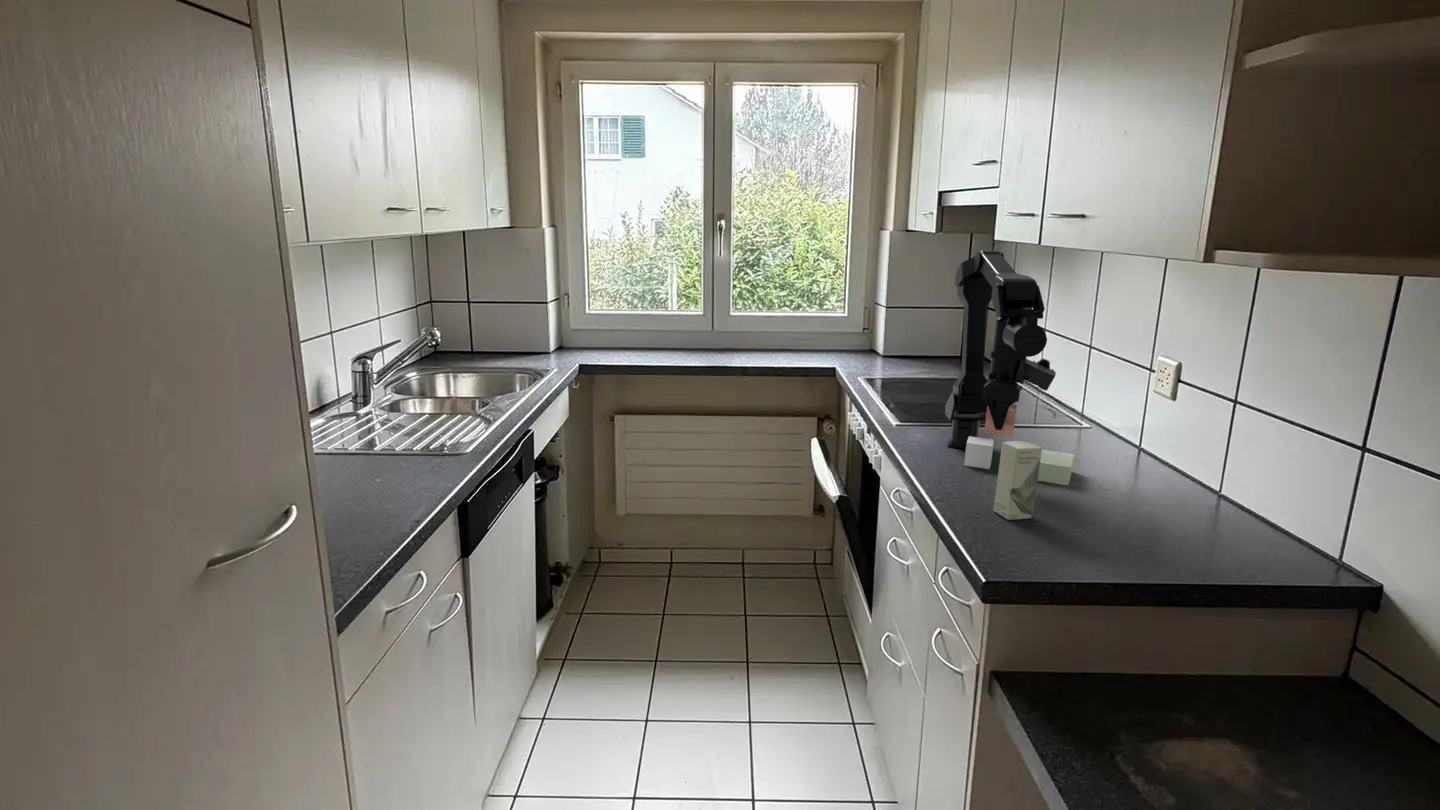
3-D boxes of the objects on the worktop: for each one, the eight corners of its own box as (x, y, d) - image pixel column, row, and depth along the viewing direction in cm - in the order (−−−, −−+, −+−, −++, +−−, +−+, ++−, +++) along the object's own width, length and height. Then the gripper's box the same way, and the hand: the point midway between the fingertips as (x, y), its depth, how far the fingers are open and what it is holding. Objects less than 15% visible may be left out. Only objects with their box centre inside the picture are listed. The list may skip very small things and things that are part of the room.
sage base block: (1024, 465, 160) (1026, 447, 159) (1071, 473, 156) (1074, 454, 155) (1018, 478, 153) (1020, 459, 152) (1067, 487, 149) (1070, 467, 148)
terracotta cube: (986, 426, 152) (989, 401, 150) (1013, 429, 150) (1016, 404, 148) (984, 433, 147) (987, 407, 146) (1012, 436, 145) (1015, 411, 144)
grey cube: (966, 458, 163) (968, 436, 162) (991, 462, 161) (993, 439, 160) (964, 466, 159) (966, 442, 157) (989, 469, 157) (992, 446, 156)
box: (1007, 521, 131) (1016, 449, 128) (992, 511, 135) (1000, 441, 132) (1034, 518, 133) (1043, 446, 129) (1018, 508, 137) (1027, 439, 133)
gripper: (1054, 359, 133) (1043, 445, 137) (1057, 341, 149) (1046, 419, 153) (987, 353, 137) (977, 437, 141) (996, 336, 154) (987, 412, 158)
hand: (999, 426), depth 148 cm, fingers closed on terracotta cube, 5 cm apart
